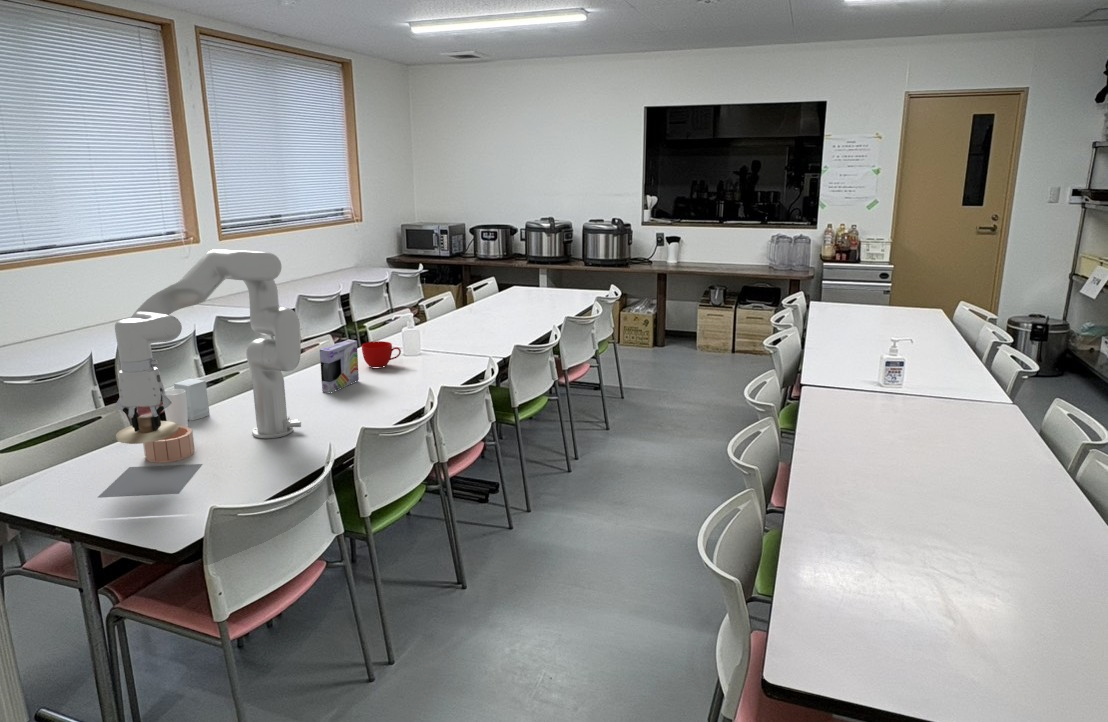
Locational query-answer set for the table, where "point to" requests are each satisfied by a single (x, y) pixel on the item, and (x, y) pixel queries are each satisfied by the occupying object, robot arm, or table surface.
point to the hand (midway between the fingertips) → (147, 428)
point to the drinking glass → (177, 407)
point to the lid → (146, 431)
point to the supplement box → (195, 397)
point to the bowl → (171, 447)
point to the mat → (151, 480)
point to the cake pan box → (339, 365)
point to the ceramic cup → (378, 353)
